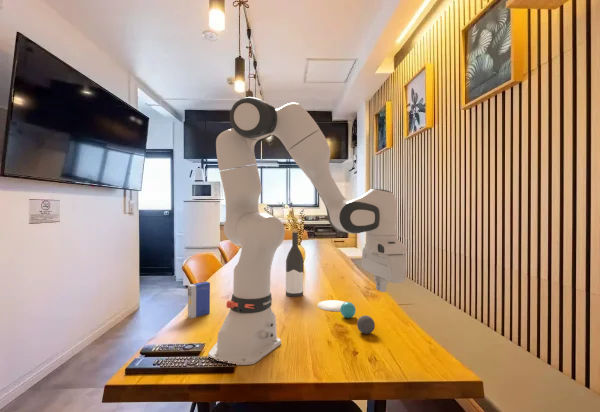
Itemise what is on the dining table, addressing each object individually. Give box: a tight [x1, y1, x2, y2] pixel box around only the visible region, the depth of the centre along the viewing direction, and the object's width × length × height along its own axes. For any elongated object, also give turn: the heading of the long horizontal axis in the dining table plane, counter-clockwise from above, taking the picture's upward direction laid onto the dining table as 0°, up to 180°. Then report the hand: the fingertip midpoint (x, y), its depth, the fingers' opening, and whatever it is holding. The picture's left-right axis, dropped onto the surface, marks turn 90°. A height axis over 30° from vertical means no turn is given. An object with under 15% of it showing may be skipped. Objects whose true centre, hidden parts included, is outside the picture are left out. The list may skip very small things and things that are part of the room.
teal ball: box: [339, 301, 356, 319], centre depth 120 cm, size 6×6×6 cm
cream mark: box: [317, 299, 346, 312], centre depth 134 cm, size 14×14×1 cm
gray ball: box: [356, 315, 376, 335], centre depth 106 cm, size 6×6×6 cm
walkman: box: [187, 280, 211, 319], centre depth 121 cm, size 8×3×12 cm, turn 139°
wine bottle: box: [285, 228, 305, 298], centre depth 150 cm, size 8×8×30 cm
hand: (381, 290), depth 96 cm, fingers closed
